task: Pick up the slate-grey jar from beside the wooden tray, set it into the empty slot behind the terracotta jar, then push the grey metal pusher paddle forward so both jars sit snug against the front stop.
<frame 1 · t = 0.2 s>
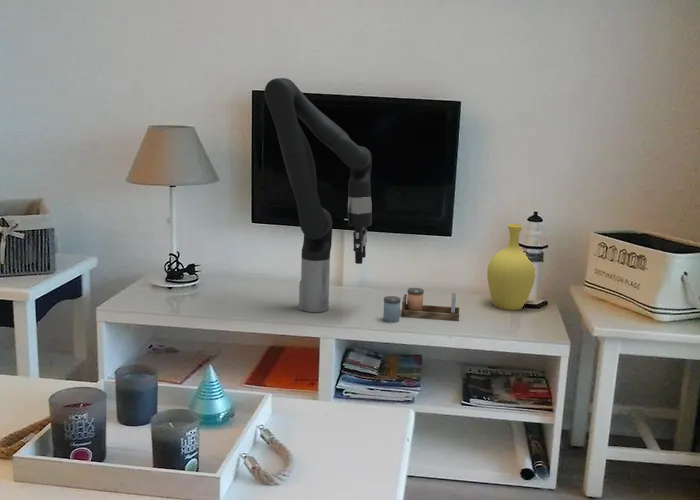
hand: (360, 260, 251), 17 cm above the table, tool pointing down, fingers open, 8 cm apart
jar b: (391, 322, 245), on the table
jar a: (414, 313, 252), point 1 cm above the table, touching wooden tray
vase: (508, 305, 269), on the table
wooden tray: (430, 318, 252), on the table
paddle: (453, 305, 250), point 5 cm above the table, slide at 0.0 cm
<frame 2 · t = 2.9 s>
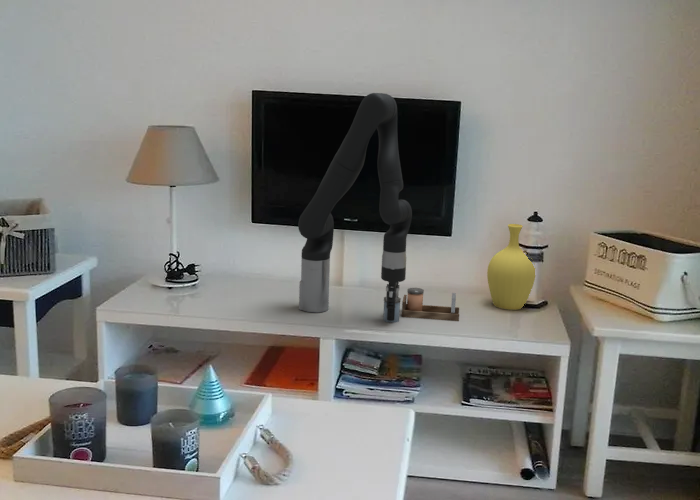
hand: (391, 317, 245), 2 cm above the table, tool pointing down, fingers closed on jar b, 5 cm apart
jar b: (391, 322, 245), on the table, touching gripper
everything else where it was.
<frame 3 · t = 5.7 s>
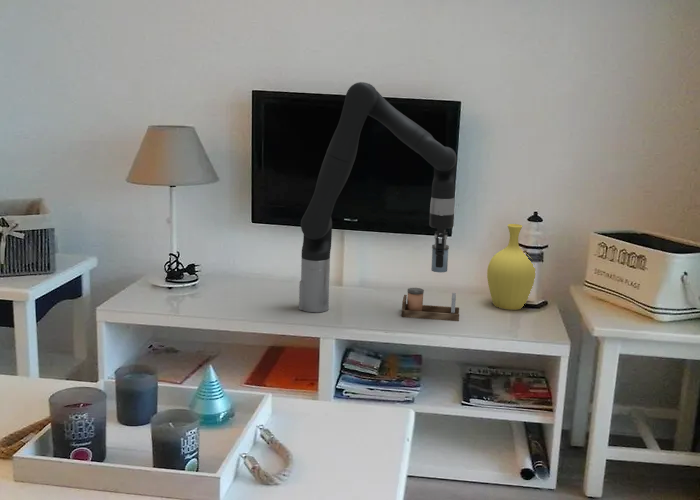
hand: (439, 264, 247), 18 cm above the table, tool pointing down, fingers closed on jar b, 5 cm apart
jar b: (439, 270, 247), point 16 cm above the table, touching gripper
everything else where it was.
when the fingers open (4 cm above the table, at t = 8.7 s): jar b drops 1 cm, resting on wooden tray.
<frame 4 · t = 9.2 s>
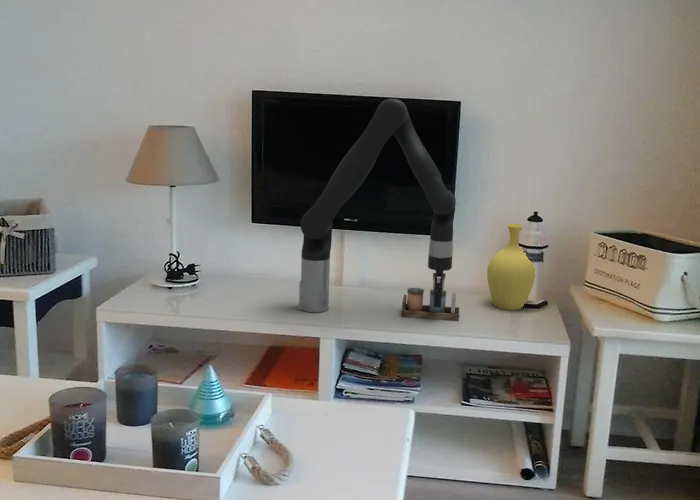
hand: (437, 303, 250), 5 cm above the table, tool pointing down, fingers open, 8 cm apart
jar b: (436, 315, 251), point 1 cm above the table, touching wooden tray
everything else where it was.
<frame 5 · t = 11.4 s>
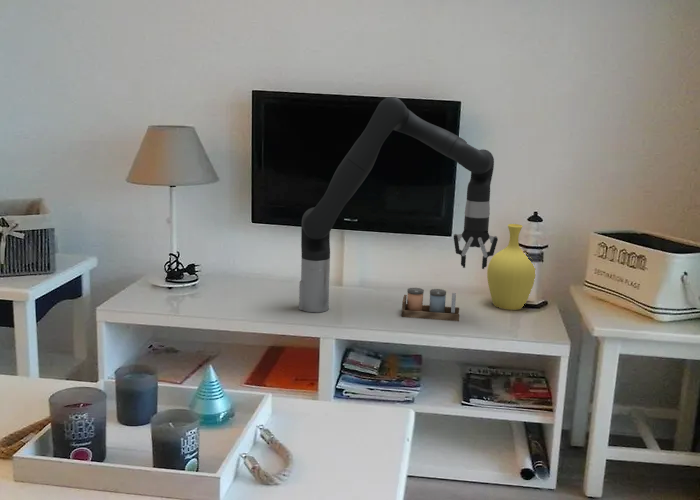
hand: (473, 267, 246), 18 cm above the table, tool pointing down, fingers open, 5 cm apart
nothing on the table moved.
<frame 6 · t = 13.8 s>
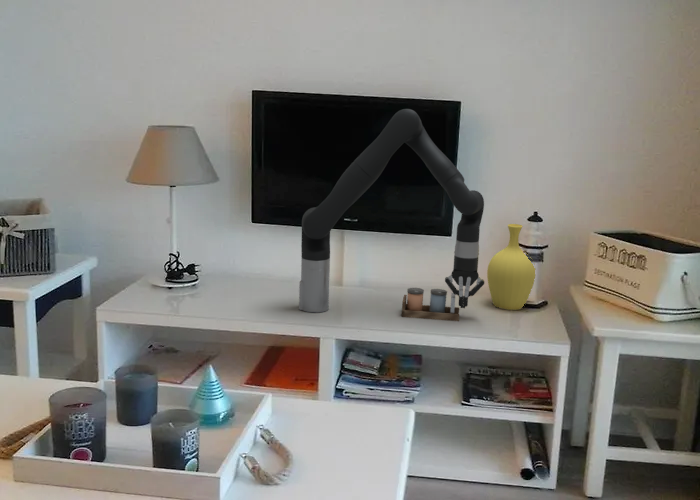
hand: (462, 307, 249), 4 cm above the table, tool pointing down, fingers closed
paddle: (452, 305, 250), point 5 cm above the table, slide at 0.2 cm, touching gripper
everything else where it was.
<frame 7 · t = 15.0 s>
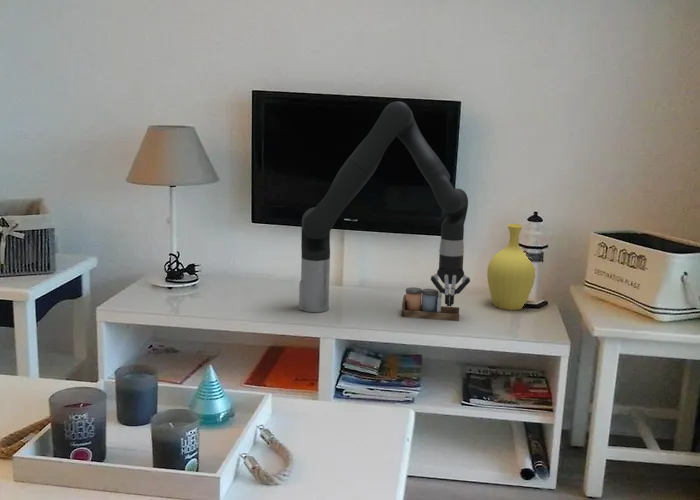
hand: (449, 305, 250), 5 cm above the table, tool pointing down, fingers closed
jar b: (428, 314, 251), point 1 cm above the table, touching jar a, wooden tray, paddle
jar a: (413, 313, 252), point 1 cm above the table, touching jar b, wooden tray
paddle: (439, 304, 250), point 5 cm above the table, slide at 4.5 cm, touching gripper, jar b
everything else where it was.
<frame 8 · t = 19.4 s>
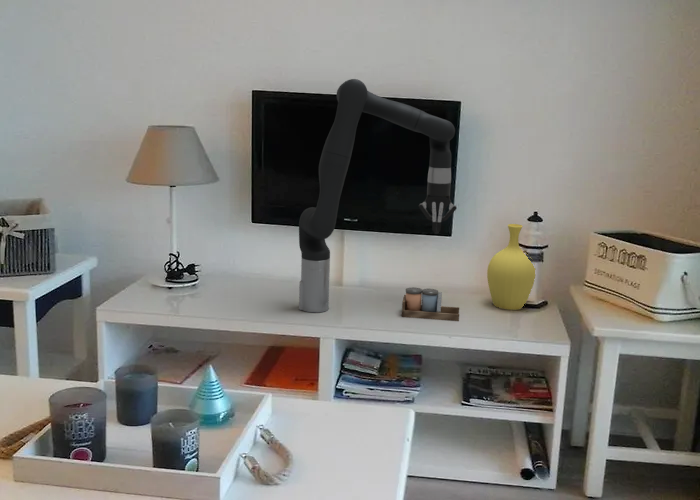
hand: (436, 232, 261), 25 cm above the table, tool pointing down, fingers closed
paddle: (439, 304, 250), point 5 cm above the table, slide at 4.5 cm, touching jar b
everything else where it was.
at the end: jar b 1.4 cm from the target spot, point 1.0 cm above the table; jar b tilted 0°; paddle slide at 4.5 cm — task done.
